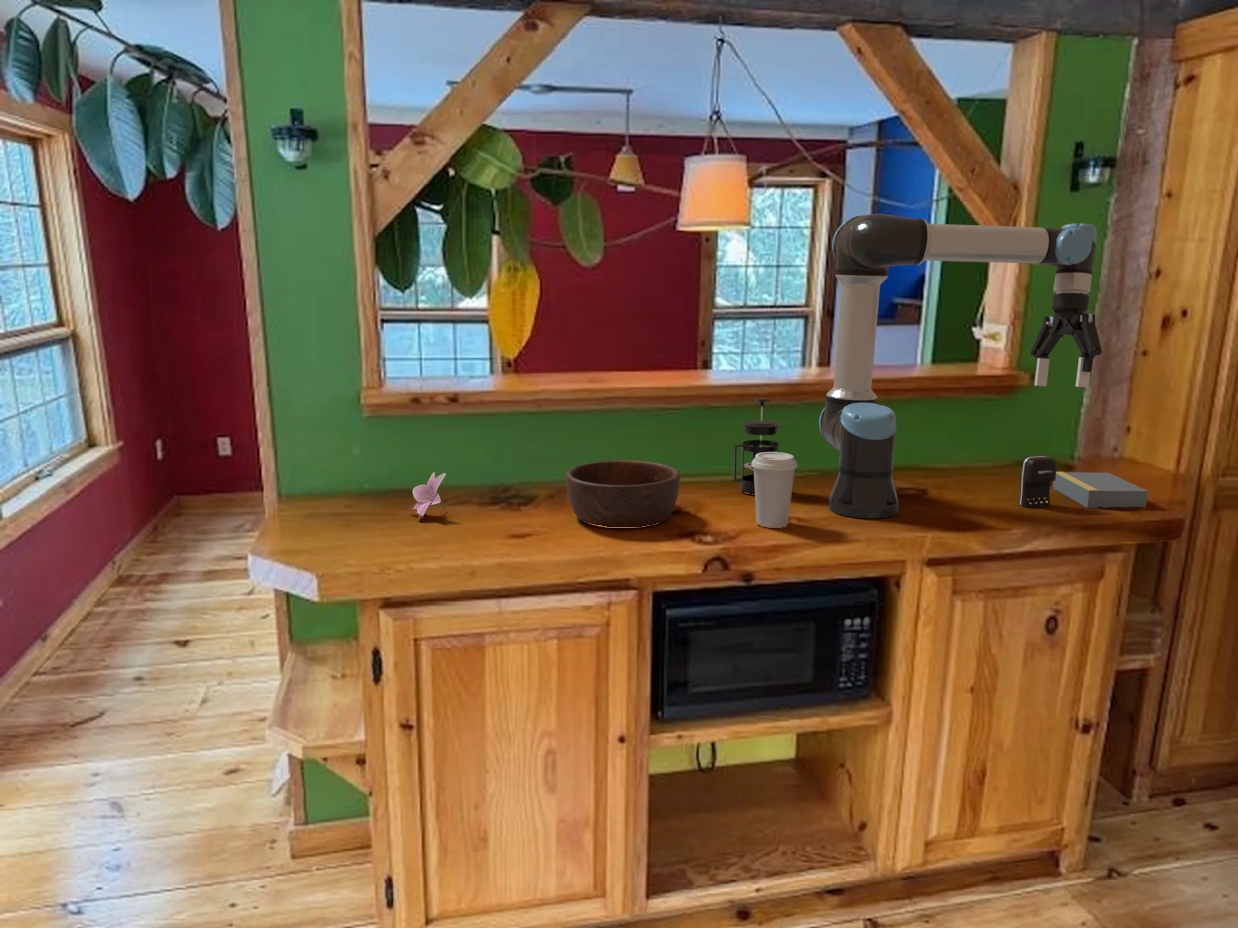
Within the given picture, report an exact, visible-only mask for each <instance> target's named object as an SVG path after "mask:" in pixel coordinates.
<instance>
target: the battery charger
mask: <svg viewBox="0 0 1238 928" xmlns="http://www.w3.org/2000/svg"><path fill="white" fill-rule="evenodd" d="M1056 472H1057V462H1056V460H1055V459H1053V458H1051V457H1048V456H1043V455H1039V456H1036V455H1035V456H1029V457H1027V456H1026V457H1025V458H1024V460H1023V461H1022V465H1021V473H1020V488H1019V489H1020V490H1019V500H1018V504H1019V505H1020V506H1021V507H1025V508H1026V507H1027V508H1044V507H1045V508H1046V507H1050V505H1051V498H1050V491H1051V486H1052V485H1051V484H1052V483H1053V481H1055V479H1056Z"/></svg>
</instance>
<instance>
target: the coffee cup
mask: <svg viewBox="0 0 1238 928" xmlns="http://www.w3.org/2000/svg"><path fill="white" fill-rule="evenodd" d="M751 462H752V464H751V466H752V467H753V469H754V484H755V496H754V497H755V498H754V499H755V500H754V501H755V502H754V503H755V516H756V524H757V523H758V524H759V525H762V526H764V527H770V528H780V529H782V528H781V527H785V528H787V527H786V526H788V524H789V516H790V508H791V500H792V493H793V492H792V491H793V486H794V485H793V484H794V476H795V471H796V470H795V469H797V467H798V464H797V461H796V460H795V456H794V455H792V454H790V453H786V452H780V451H779V452H777V451H775V452H763V453H758V454H756V455H755V459H753V458H752V461H751Z"/></svg>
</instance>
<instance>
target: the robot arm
mask: <svg viewBox="0 0 1238 928" xmlns="http://www.w3.org/2000/svg"><path fill="white" fill-rule="evenodd" d="M1097 236H1098V235H1097V227H1096V226H1094V225H1093V224H1089V223H1078V222H1077V223H1068V224H1067V223H1066V224H1064V225H1063V226H1061V228H1060V227H1041V226H1039V227H1038V226H1036V227H1035V226H1032V227H1031V226H1005V225H1001V226H1000V225H975V224H974V225H973V224H971V225H970V224H945V223H943V224H942V223H928V221H927V220H926V219H925V218H916V217H915V218H914V217H907V216H906V217H905V216H899V215H892V214H886V213H872V214H864V215H863V214H861V215H856V216H853V217H851V218H849V219H847V220H846V221H844V222H843V223H842V224H841V225H840V226H839V227H838V228H837V230H836V231H835V233H834V235H833V237H832V243H831V244H832V245H831V248H832V254H833V256H834V259H835V260H836V261H835V278H836V279H837V280H838V281H839V282H840V284H841V285H840V299H839V311H838V312H839V313H838V324H837V325H838V326H837V337H836V338H837V339H836V351H835V364H834V377H833V387H832V388H831V389H830V390H829V391H827V393H826V396H825V406H824V408H823V409H822V411H821V413H820V416H819V422H818V423H819V424H818V426H819V430H820V433H821V435H822V437H823V438H824V440H825V442H826V443H827V444H829V446H830V447H832V448H834V449H835V450H837V451H839V458H838V459H839V460H838V462H839V463H838V476H837V478H836V480H835V483H834V485H833V488H832V491H831V493H830V496H829V501H828V502H829V503H828V509H829V510H830V511H831V512H833V513H835V514H838V515H842V516H845V517H851V518H858V519H885V518H890V517H894V516H896V515H897V514H898V513H899V506H900V502H899V499H898V495H897V491H896V487H895V484H894V483H895V482H894V480H893V472H894V471H893V470H894V460H895V459H894V458H895V457H894V456H895V443H896V431H897V426H898V425H897V419H896V418H897V417H896V413H895V411H893V409H892V408H890V407H888V406H886V405H881V404H877V403H878V396H877V394H876V393H875V392H874V391H873V389H872V383H873V372H874V362H875V361H874V360H875V349H876V348H875V347H876V339H877V338H876V337H877V336H876V335H877V327H878V326H877V323H878V315H879V312H878V311H879V303H880V302H879V301H880V291H881V285H882V283H884V282H885V280H887V279H888V278H889V276H888V275H889V268H890V267H897V266H898V267H899V266H919V265H921V264H922V263H923V262H924V261H933V262H936V261H938V262H968V263H969V262H971V263H973V262H974V263H1000V264H1001V263H1008V264H1011V263H1012V264H1019V265H1022V264H1023V265H1024V264H1026V265H1037V266H1051V267H1055V276H1054V277H1055V278H1054V284H1053V292H1054V295H1053V296H1052V303H1051V310H1052V311H1053V312H1054V316H1049V315H1048V316H1047V315H1045V316H1044V317H1043V320H1042V326H1041V327H1040V330H1039V332H1038V335H1037V336H1036V339H1035V341H1034V344H1033V346H1032V348H1031V351H1030V356H1033V357H1035V358H1036V361H1035V362H1036V363H1035V376H1034V377H1035V379H1034V386H1036V387H1037V386H1038V387H1047V385H1048V377H1049V369H1050V367H1049V366H1050V357H1049V355H1050V354H1051V352H1053V350H1054V349H1055V347H1056V345H1057V344H1058V342H1059V341H1060V339H1061V338H1063V337H1064V336H1069V335H1070V336H1072V338H1073V341H1074V342H1075V344H1076V346H1077V348H1078V349H1079V352H1080V355H1079V356H1080V357H1078V362H1077V363H1078V364H1077V372H1076V380H1075V387H1078V388H1089V385H1090V375H1091V373H1092V371H1093V362H1094V358H1095V357H1096V356H1098V355H1099V356H1101V355H1102V353H1103V350H1102V346H1101V341H1100V338H1099V334H1098V331H1097V326H1096V314H1095V313H1090V312H1089V313H1088V312H1087V311H1088V310H1089V305H1090V295H1089V293H1091V286H1092V277H1093V269H1094V263H1095V262H1094V261H1095V254H1096V248H1097Z"/></svg>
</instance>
